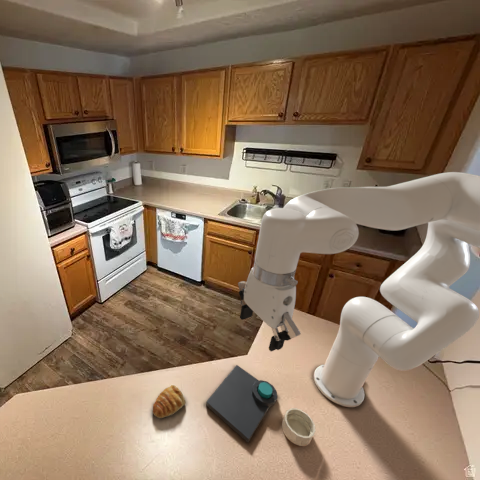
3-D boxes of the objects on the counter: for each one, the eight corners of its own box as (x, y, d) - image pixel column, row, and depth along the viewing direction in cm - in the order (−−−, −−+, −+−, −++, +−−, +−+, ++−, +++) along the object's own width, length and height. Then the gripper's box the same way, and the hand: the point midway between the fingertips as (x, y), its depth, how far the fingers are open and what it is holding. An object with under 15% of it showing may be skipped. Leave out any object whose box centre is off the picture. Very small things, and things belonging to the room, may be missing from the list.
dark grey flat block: (236, 368, 83) (237, 360, 81) (278, 398, 74) (281, 391, 73) (206, 405, 73) (206, 398, 72) (250, 445, 64) (252, 438, 63)
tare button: (261, 383, 75) (262, 379, 74) (273, 392, 73) (274, 388, 72) (255, 392, 73) (256, 388, 72) (267, 401, 71) (268, 397, 70)
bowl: (287, 411, 71) (291, 402, 69) (314, 431, 67) (319, 422, 65) (277, 431, 67) (280, 422, 65) (304, 454, 63) (309, 444, 60)
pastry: (162, 427, 69) (161, 419, 67) (147, 407, 73) (146, 399, 72) (187, 404, 74) (187, 396, 72) (172, 386, 78) (171, 378, 77)
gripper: (326, 292, 45) (302, 356, 53) (258, 246, 59) (248, 303, 67) (293, 303, 43) (274, 369, 51) (231, 253, 57) (223, 311, 65)
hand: (259, 331), depth 59 cm, fingers open, 9 cm apart
